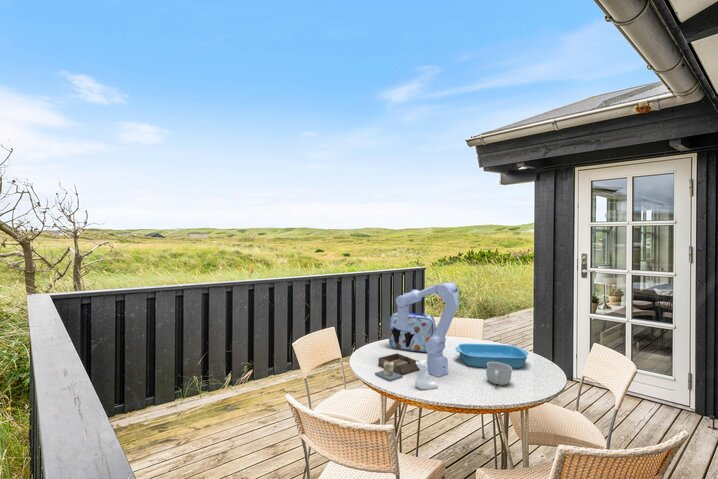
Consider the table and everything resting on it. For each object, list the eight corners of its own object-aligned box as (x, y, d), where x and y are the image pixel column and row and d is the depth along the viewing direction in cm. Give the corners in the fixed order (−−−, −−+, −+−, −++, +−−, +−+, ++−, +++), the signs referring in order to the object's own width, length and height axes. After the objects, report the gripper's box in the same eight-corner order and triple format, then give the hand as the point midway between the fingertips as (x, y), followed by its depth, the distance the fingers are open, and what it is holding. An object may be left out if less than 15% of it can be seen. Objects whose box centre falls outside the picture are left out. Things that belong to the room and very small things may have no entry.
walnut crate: (420, 369, 181) (420, 361, 181) (401, 375, 173) (401, 367, 173) (396, 360, 193) (397, 353, 193) (378, 365, 185) (378, 357, 185)
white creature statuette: (439, 388, 160) (439, 360, 160) (427, 393, 154) (427, 364, 154) (421, 381, 167) (422, 354, 167) (409, 386, 161) (409, 358, 161)
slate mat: (402, 377, 170) (402, 375, 170) (389, 381, 165) (389, 379, 165) (387, 371, 178) (387, 369, 178) (374, 374, 173) (374, 372, 173)
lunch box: (437, 349, 215) (438, 311, 215) (435, 355, 205) (436, 315, 205) (390, 344, 223) (391, 308, 223) (387, 349, 213) (388, 311, 213)
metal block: (393, 372, 173) (393, 362, 173) (392, 376, 169) (392, 365, 169) (385, 372, 174) (385, 361, 174) (383, 375, 170) (383, 364, 170)
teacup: (491, 376, 175) (491, 359, 175) (514, 382, 168) (515, 365, 168) (479, 385, 164) (480, 367, 164) (504, 392, 157) (505, 373, 157)
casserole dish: (460, 369, 185) (460, 354, 185) (451, 354, 207) (451, 342, 207) (535, 372, 183) (536, 357, 183) (518, 357, 205) (518, 344, 205)
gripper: (418, 320, 187) (418, 347, 187) (398, 315, 198) (397, 340, 198) (409, 322, 182) (408, 349, 182) (388, 316, 194) (388, 342, 194)
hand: (402, 345), depth 190 cm, fingers open, 7 cm apart
